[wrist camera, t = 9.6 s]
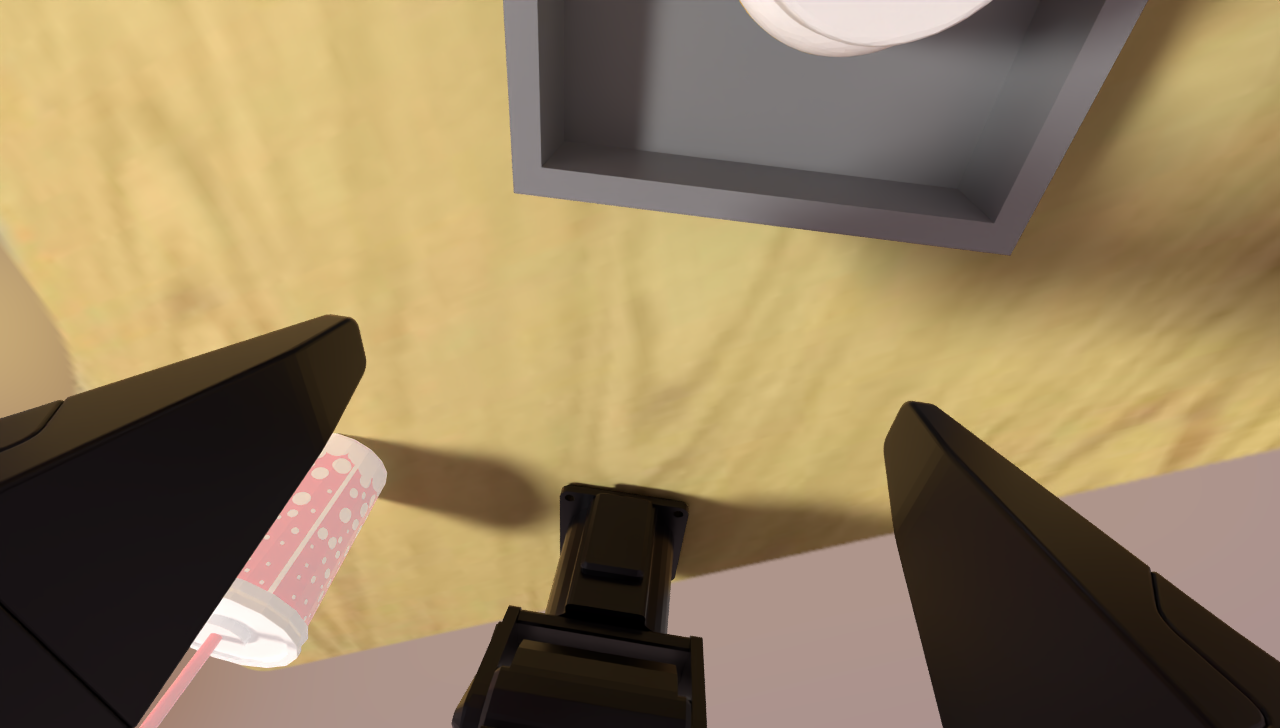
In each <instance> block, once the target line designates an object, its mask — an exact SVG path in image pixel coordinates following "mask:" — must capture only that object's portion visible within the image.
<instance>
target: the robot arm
mask: <svg viewBox="0 0 1280 728" xmlns="http://www.w3.org/2000/svg"><path fill="white" fill-rule="evenodd" d="M365 368H366V356H365V352H364V347H363V343H362V339H361V335H360V330H359V327H358V324H357V322H356V321H355V320H354V319H353V318H351V317H345V316H338V315H331V314H330V315H324V316H321V317H317V318H314V319H311V320H308V321H305V322H302V323H299V324H296V325H292V326H289V327H286V328H283V329H280V330H277V331H274V332H271V333H267V334H264V335H261V336H258V337H255V338H252V339H249V340H246V341H242V342H239V343H236V344H233V345H230V346H227V347H224V348H221V349H217V350H214V351H211V352H208V353H205V354H202V355H199V356H196V357H192V358H189V359H186V360H183V361H180V362H177V363H174V364H170V365H167V366H164V367H161V368H158V369H155V370H152V371H149V372H145V373H142V374H139V375H136V376H133V377H130V378H127V379H124V380H120V381H117V382H114V383H111V384H108V385H105V386H102V387H99V388H95V389H92V390H89V391H86V392H83V393H80V394H77V395H74V396H70V397H68V398H67V399H66V400H65V401H63V400H58V401H54V402H51V403H48V404H45V405H42V406H39V407H36V408H33V409H29V410H26V411H23V412H20V413H17V414H13V415H10V416H7V417H4V418H0V728H135V727H136V726H137V724H138V723H139V721H140V720H141V718H142V717H143V715H144V714H145V712H146V711H147V710H148V708H149V707H150V705H151V703H152V702H153V701H154V699H155V698H156V696H157V695H158V693H159V692H160V690H161V689H162V687H163V686H164V684H165V683H166V681H167V680H168V679H169V677H170V676H171V674H172V673H173V671H174V670H175V668H176V667H177V665H178V664H179V662H180V661H181V659H182V658H183V656H184V655H185V653H186V652H187V650H188V649H189V647H190V646H191V645H192V643H193V642H194V640H195V639H196V637H197V636H198V634H199V633H200V631H201V630H202V628H203V627H204V625H205V624H206V622H207V621H208V619H209V618H210V616H211V615H212V614H213V612H214V611H215V609H216V608H217V606H218V605H219V603H220V602H221V600H222V599H223V597H224V596H225V594H226V593H227V591H228V590H229V588H230V587H231V585H232V584H233V582H234V581H235V580H236V578H237V577H238V575H239V574H240V572H241V571H242V569H243V568H244V566H245V565H246V563H247V562H248V560H249V559H250V557H251V556H252V554H253V553H254V551H255V550H256V549H257V547H258V546H259V544H260V543H261V541H262V540H263V538H264V537H265V535H266V534H267V532H268V531H269V529H270V528H271V526H272V525H273V523H274V522H275V520H276V519H277V517H278V516H279V515H280V513H281V512H282V510H283V509H284V507H285V506H286V504H287V503H288V501H289V500H290V498H291V497H292V495H293V494H294V492H295V491H296V489H297V488H298V486H299V485H300V484H301V482H302V481H303V479H304V478H305V476H306V475H307V473H308V472H309V470H310V469H311V467H312V466H313V464H314V463H315V461H316V460H317V458H318V457H319V455H320V454H321V452H322V451H323V449H324V447H325V446H326V444H327V442H328V440H329V439H330V437H331V435H332V433H333V432H334V430H335V428H336V426H337V424H338V422H339V420H340V418H341V416H342V414H343V412H344V411H345V409H346V407H347V405H348V403H349V401H350V399H351V397H352V395H353V393H354V391H355V389H356V388H357V386H358V384H359V382H360V380H361V378H362V376H363V374H364V372H365ZM884 459H885V467H886V474H887V482H888V490H889V498H890V506H891V514H892V521H893V528H894V534H895V539H896V543H897V547H898V551H899V555H900V560H901V564H902V568H903V572H904V576H905V579H906V583H907V587H908V591H909V595H910V599H911V603H912V607H913V611H914V615H915V619H916V623H917V627H918V631H919V634H920V639H921V643H922V646H923V651H924V654H925V659H926V663H927V666H928V670H929V674H930V678H931V682H932V686H933V690H934V694H935V698H936V702H937V706H938V710H939V714H940V718H941V722H942V726H943V728H1280V662H1279V661H1278V660H1276V659H1275V658H1274V657H1272V656H1270V655H1269V654H1268V653H1266V652H1265V651H1264V650H1262V649H1261V648H1259V647H1258V646H1256V645H1255V644H1254V643H1252V642H1251V641H1249V640H1248V639H1246V638H1245V637H1244V636H1242V635H1241V634H1239V633H1238V632H1236V631H1235V630H1234V629H1232V628H1231V627H1230V626H1228V625H1227V624H1226V623H1224V622H1223V621H1221V620H1220V619H1219V618H1217V617H1216V616H1215V615H1213V614H1212V613H1211V612H1209V611H1208V610H1206V609H1205V608H1204V607H1202V606H1201V605H1200V604H1198V603H1197V602H1196V601H1194V600H1193V599H1191V598H1190V597H1189V596H1187V595H1186V594H1185V593H1183V592H1182V591H1181V590H1179V589H1178V588H1177V587H1176V586H1174V585H1173V584H1172V583H1170V582H1169V581H1168V580H1166V579H1165V578H1164V577H1162V576H1161V575H1160V574H1158V573H1157V572H1151V570H1150V567H1149V566H1148V565H1146V564H1145V563H1144V562H1142V561H1141V560H1140V559H1138V558H1137V557H1136V556H1134V555H1133V554H1132V553H1130V552H1129V551H1128V550H1126V549H1125V548H1124V547H1122V546H1121V545H1120V544H1118V543H1117V542H1116V541H1114V540H1113V539H1112V538H1110V537H1109V536H1108V535H1106V534H1105V533H1104V532H1103V531H1101V530H1100V529H1099V528H1097V527H1096V526H1095V525H1093V524H1092V523H1091V522H1089V521H1088V520H1087V519H1085V518H1084V517H1083V516H1081V515H1080V514H1079V513H1077V512H1076V511H1075V510H1073V509H1072V508H1071V507H1069V506H1068V505H1067V504H1065V503H1064V502H1063V501H1061V500H1060V499H1059V498H1057V497H1056V496H1055V495H1053V494H1052V493H1051V492H1049V491H1048V490H1047V489H1045V488H1044V487H1043V486H1042V485H1040V484H1039V483H1038V482H1036V481H1035V480H1034V479H1032V478H1031V477H1030V476H1028V475H1027V474H1026V473H1024V472H1023V471H1022V470H1020V469H1019V468H1018V467H1016V466H1015V465H1014V464H1012V463H1011V462H1010V461H1008V460H1007V459H1006V458H1004V457H1003V456H1002V455H1000V454H999V453H998V452H996V451H995V450H994V449H992V448H991V447H990V446H989V445H987V444H986V443H985V442H983V441H982V440H981V439H979V438H978V437H977V436H975V435H974V434H973V433H971V432H970V431H969V430H967V429H966V428H965V427H963V426H962V425H961V424H959V423H958V422H957V421H955V420H954V419H953V418H951V417H950V416H949V415H947V414H946V413H945V412H943V411H942V410H941V409H939V408H938V407H937V406H935V405H933V404H930V403H923V402H916V401H908V402H905V403H904V404H903V405H902V407H901V408H900V410H899V412H898V414H897V416H896V418H895V420H894V422H893V424H892V426H891V428H890V430H889V432H888V434H887V436H886V439H885V442H884ZM688 512H689V508H688V505H687V504H685V503H684V502H680V501H674V500H667V499H660V498H654V497H647V496H640V495H633V494H627V493H620V492H613V491H606V490H600V489H593V488H586V487H579V486H572V485H567V486H564V487H563V488H562V491H561V495H560V559H559V563H558V566H557V570H556V574H555V578H554V582H553V585H552V589H551V593H550V597H549V600H548V604H547V608H546V612H545V613H539V612H533V611H527V610H522V609H521V607H517V606H511V605H509V607H508V609H507V612H506V614H505V616H504V619H503V621H502V622H499V623H498V624H496V627H495V630H494V633H493V636H492V639H491V642H490V644H489V646H488V648H487V651H486V653H485V655H484V658H483V660H482V662H481V665H480V667H479V669H478V672H477V674H476V675H475V677H474V679H473V680H472V682H471V684H470V686H469V687H468V689H467V691H466V692H465V694H464V696H463V698H462V699H461V701H460V703H459V704H458V706H457V708H456V710H455V712H454V716H453V719H452V727H453V728H707V718H706V699H705V678H704V659H703V639H702V637H696V636H690V638H688V637H682V636H676V635H670V634H667V628H668V627H667V626H668V614H669V601H670V588H671V580H673V579H674V578H675V574H676V569H677V565H678V560H679V556H680V551H681V547H682V542H683V537H684V533H685V528H686V524H687V519H688Z"/></svg>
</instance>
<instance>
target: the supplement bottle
mask: <svg viewBox="0 0 1280 728" xmlns="http://www.w3.org/2000/svg"><path fill="white" fill-rule="evenodd" d="M739 1H740V3H741V5H742V6H743V7H744V9H745V10H746V12H747V13H748V14H749V15H750V16H751V18H752V19H753V20H754V21H755V22H756V23H757V24H758V25H759V26H760V27H761V28H763V29H764V30H765V31H766V32H767V33H768V34H770V35H771V36H772V37H774V38H775V39H777V40H779V41H780V42H782V43H784V44H786V45H787V46H790V47H792V48H794V49H797V50H799V51H802V52H805V53H809V54H814V55H820V56H828V57H849V56H857V55H864V54H869V53H874V52H878V51H881V50H884V49H887V48H889V47H892V46H895V45H901V44H905V43H909V42H913V41H917V40H920V39H923V38H926V37H929V36H932V35H935V34H937V33H940V32H942V31H944V30H946V29H948V28H950V27H952V26H954V25H956V24H958V23H960V22H961V21H963V20H965V19H967V18H968V17H970V16H971V15H973V14H974V13H976V12H977V11H979V10H980V9H981V8H983V7H984V6H986V5H987V4H989V3H990V2H991V1H992V0H739Z"/></svg>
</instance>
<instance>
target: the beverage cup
mask: <svg viewBox="0 0 1280 728" xmlns="http://www.w3.org/2000/svg"><path fill="white" fill-rule="evenodd" d="M386 478H387V471H386V469H385V467H384V464H383V462H382V461H381V459H380V458H379V457H378V456H377V455H376V454H375V453H374V452H373V451H372V450H371V449H370V448H368V447H366V446H365V445H363V444H361V443H360V442H358V441H357V440H355V439H352V438H349V437H346V436H343V435H340V434H337V433H332V435H331V437H330V439H329V440H328V442H327V444H326V446H325V447H324V449H323V451H322V452H321V454H320V455H319V457H318V458H317V460H316V461H315V463H314V464H313V466H312V467H311V469H310V470H309V472H308V473H307V475H306V476H305V478H304V479H303V481H302V482H301V484H300V485H299V486H298V488H297V489H296V491H295V492H294V494H293V495H292V497H291V498H290V500H289V501H288V503H287V504H286V506H285V507H284V509H283V510H282V512H281V513H280V515H279V516H278V517H277V519H276V520H275V522H274V523H273V525H272V526H271V528H270V529H269V531H268V532H267V534H266V535H265V537H264V538H263V540H262V541H261V543H260V544H259V546H258V547H257V549H256V550H255V551H254V553H253V554H252V556H251V557H250V559H249V560H248V562H247V563H246V565H245V566H244V568H243V569H242V571H241V572H240V574H239V575H238V577H237V578H236V580H235V581H234V582H233V584H232V585H231V587H230V588H229V590H228V591H227V593H226V594H225V596H224V597H223V599H222V600H221V602H220V603H219V605H218V606H217V608H216V609H215V611H214V612H213V614H212V615H211V616H210V618H209V619H208V621H207V622H206V624H205V625H204V627H203V628H202V630H201V631H200V633H199V634H198V636H197V637H196V639H195V640H194V642H193V643H192V645H191V646H190V647H191V648H193V649H195V650H198V651H197V652H196V654H195V655H194V656H193V658H192V659H191V660H190V661H189V663H188V664H187V665H186V667H185V668H184V669H183V671H182V672H181V673H180V675H179V676H178V677H177V679H176V680H175V681H174V683H173V684H172V685H171V686H170V688H169V689H168V690H167V692H166V693H165V694H164V696H163V697H162V698H161V700H160V701H159V702H158V704H157V705H156V706H155V708H154V709H153V710H152V712H151V713H150V714H149V716H148V717H147V718H146V720H145V721H144V722H143V724H142V725H141V726H140V728H157V727H158V726H159V724H160V723H161V722H162V720H163V719H164V717H165V716H166V715H167V713H168V712H169V711H170V709H171V708H172V707H173V705H174V703H175V702H176V701H177V700H178V698H179V697H180V696H181V694H182V693H183V692H184V690H185V689H186V687H187V686H188V685H189V683H190V682H191V681H192V679H193V678H194V677H195V675H196V674H197V672H198V671H199V670H200V668H201V667H202V666H203V664H204V663H205V662H206V660H207V659H208V657H209V656H212V657H215V658H219V659H222V660H226V661H229V662H233V663H237V664H240V665H247V666H256V667H264V668H270V667H278V666H286V665H288V664H289V663H291V662H292V661H293V660H295V659H296V658H297V657H298V655H299V654H300V652H301V646H302V645H303V644H304V642H305V641H306V640H307V639H308V625H309V623H310V621H311V619H312V618H313V616H314V614H315V612H316V610H317V608H318V606H319V605H320V603H321V601H322V599H323V597H324V595H325V594H326V592H327V590H328V588H329V586H330V584H331V583H332V581H333V579H334V577H335V575H336V573H337V572H338V570H339V568H340V566H341V564H342V562H343V561H344V559H345V557H346V555H347V553H348V551H349V550H350V548H351V546H352V544H353V542H354V540H355V539H356V537H357V535H358V533H359V531H360V529H361V527H362V526H363V524H364V522H365V520H366V518H367V516H368V515H369V513H370V511H371V509H372V507H373V505H374V504H375V502H376V500H377V498H378V496H379V494H380V493H381V491H382V489H383V487H384V485H385V483H386Z"/></svg>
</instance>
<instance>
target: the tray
mask: <svg viewBox="0 0 1280 728" xmlns="http://www.w3.org/2000/svg"><path fill="white" fill-rule="evenodd" d="M1147 1H1148V0H992V1H991V2H990V3H989V4H987V5H986V6H984V7H983V8H981V9H980V10H979V11H977V12H976V13H974V14H973V15H971V16H970V17H968V18H967V19H965V20H963V21H961V22H960V23H958V24H956V25H954V26H952V27H950V28H948V29H946V30H944V31H942V32H940V33H937V34H935V35H932V36H929V37H926V38H923V39H920V40H917V41H913V42H909V43H905V44H901V45H895V46H892V47H889V48H887V49H884V50H881V51H878V52H874V53H869V54H864V55H857V56H849V57H828V56H820V55H814V54H809V53H805V52H802V51H799V50H797V49H794V48H792V47H790V46H787V45H786V44H784V43H782V42H780V41H779V40H777V39H775V38H774V37H772V36H771V35H770V34H768V33H767V32H766V31H765V30H764V29H763V28H761V27H760V26H759V25H758V24H757V23H756V22H755V21H754V20H753V19H752V18H751V16H750V15H749V14H748V13H747V12H746V10H745V9H744V7H743V6H742V5H741V3H740V1H739V0H503V7H504V25H505V43H506V61H507V78H508V96H509V114H510V132H511V150H512V168H513V186H514V193H518V194H526V195H534V196H542V197H550V198H558V199H565V200H573V201H581V202H589V203H597V204H605V205H613V206H621V207H629V208H637V209H645V210H653V211H661V212H669V213H677V214H685V215H693V216H701V217H709V218H717V219H724V220H732V221H740V222H748V223H756V224H764V225H772V226H780V227H788V228H796V229H804V230H812V231H820V232H828V233H836V234H844V235H852V236H860V237H868V238H875V239H883V240H891V241H899V242H907V243H915V244H923V245H931V246H939V247H947V248H955V249H963V250H971V251H979V252H987V253H995V254H1003V255H1011V253H1012V251H1013V249H1014V248H1015V246H1016V244H1017V242H1018V240H1019V238H1020V237H1021V235H1022V233H1023V231H1024V229H1025V227H1026V225H1027V224H1028V222H1029V220H1030V218H1031V216H1032V214H1033V212H1034V211H1035V209H1036V207H1037V205H1038V203H1039V201H1040V199H1041V198H1042V196H1043V194H1044V192H1045V190H1046V188H1047V187H1048V185H1049V183H1050V181H1051V179H1052V177H1053V175H1054V174H1055V172H1056V170H1057V168H1058V166H1059V164H1060V162H1061V161H1062V159H1063V157H1064V155H1065V153H1066V151H1067V149H1068V148H1069V146H1070V144H1071V142H1072V140H1073V138H1074V136H1075V135H1076V133H1077V131H1078V129H1079V127H1080V125H1081V124H1082V122H1083V120H1084V118H1085V116H1086V114H1087V112H1088V111H1089V109H1090V107H1091V105H1092V103H1093V101H1094V99H1095V98H1096V96H1097V94H1098V92H1099V90H1100V88H1101V86H1102V85H1103V83H1104V81H1105V79H1106V77H1107V75H1108V74H1109V72H1110V70H1111V68H1112V66H1113V64H1114V62H1115V61H1116V59H1117V57H1118V55H1119V53H1120V51H1121V49H1122V48H1123V46H1124V44H1125V42H1126V40H1127V38H1128V36H1129V35H1130V33H1131V31H1132V29H1133V27H1134V25H1135V23H1136V22H1137V20H1138V18H1139V16H1140V14H1141V12H1142V11H1143V9H1144V7H1145V5H1146V3H1147Z"/></svg>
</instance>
